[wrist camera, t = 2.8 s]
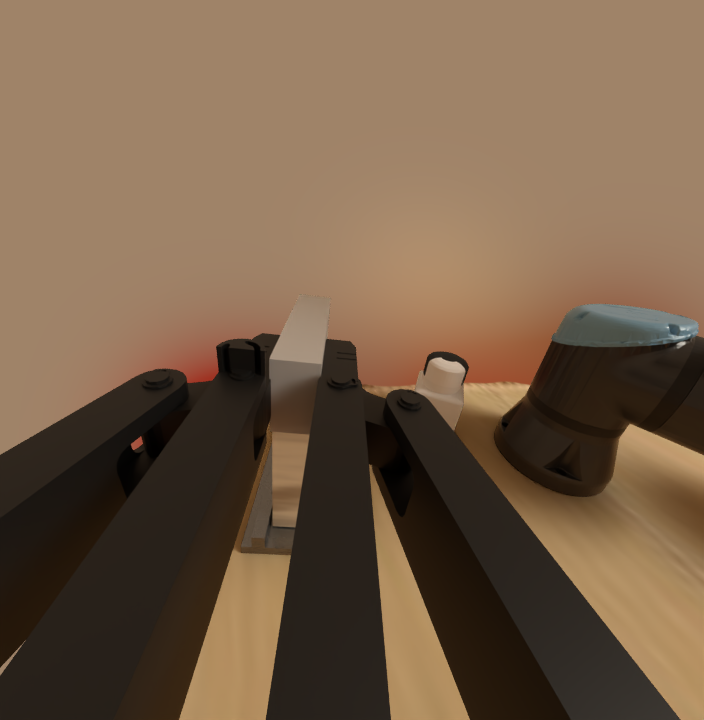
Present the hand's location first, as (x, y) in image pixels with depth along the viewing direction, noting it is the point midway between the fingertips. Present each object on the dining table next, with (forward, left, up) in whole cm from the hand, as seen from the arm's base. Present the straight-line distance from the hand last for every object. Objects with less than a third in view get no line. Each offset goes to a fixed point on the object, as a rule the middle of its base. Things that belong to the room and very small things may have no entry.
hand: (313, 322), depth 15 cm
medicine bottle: (-26, -17, -25) cm, 40 cm away
